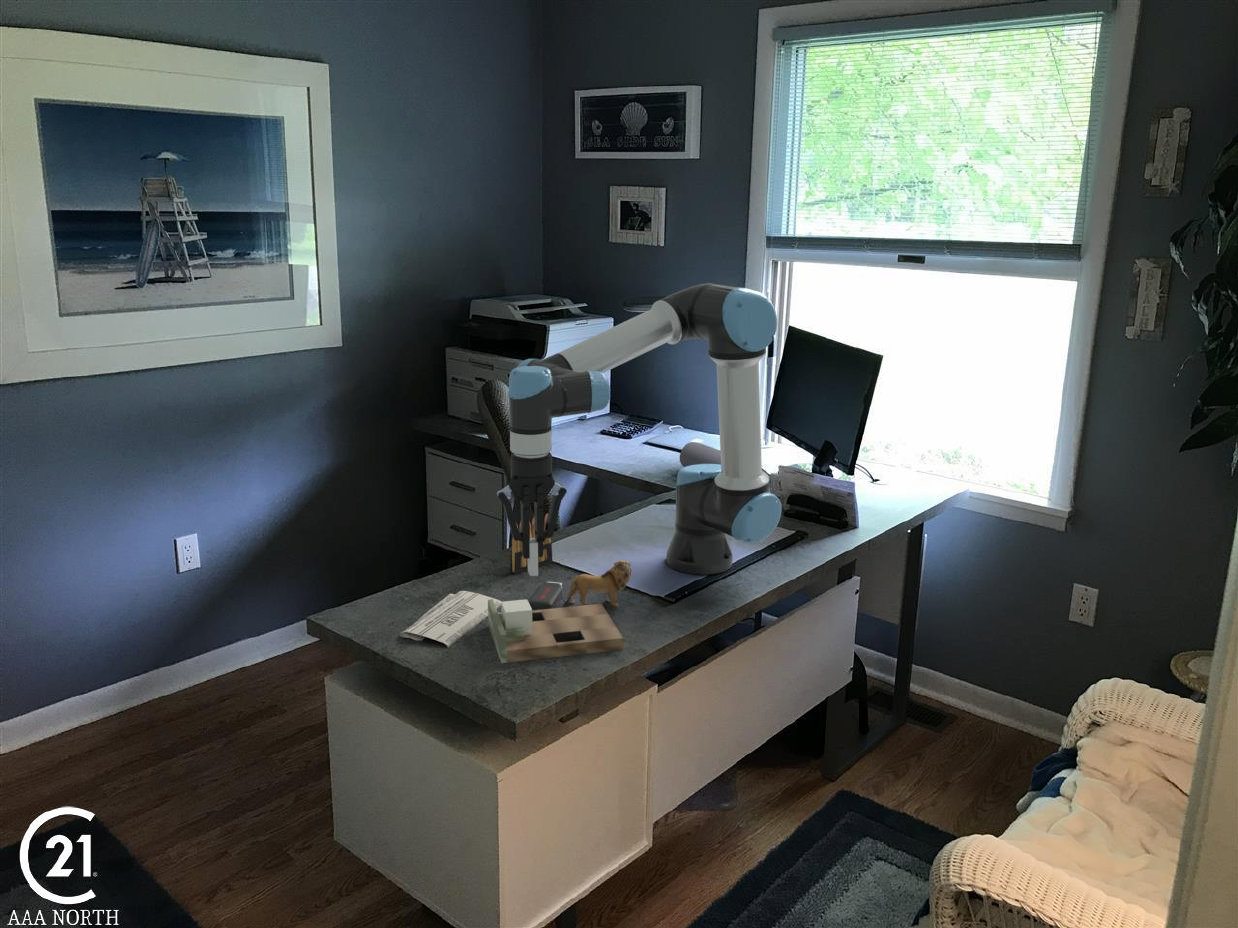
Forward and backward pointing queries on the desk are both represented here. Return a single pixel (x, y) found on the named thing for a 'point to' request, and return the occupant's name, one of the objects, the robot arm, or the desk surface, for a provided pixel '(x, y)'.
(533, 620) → the trap deck
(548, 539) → the ammunition clip
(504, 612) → the cream block
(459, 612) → the newspaper
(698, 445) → the grey long tapered piece
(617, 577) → the lion figurine
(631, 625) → the desk surface
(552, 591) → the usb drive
